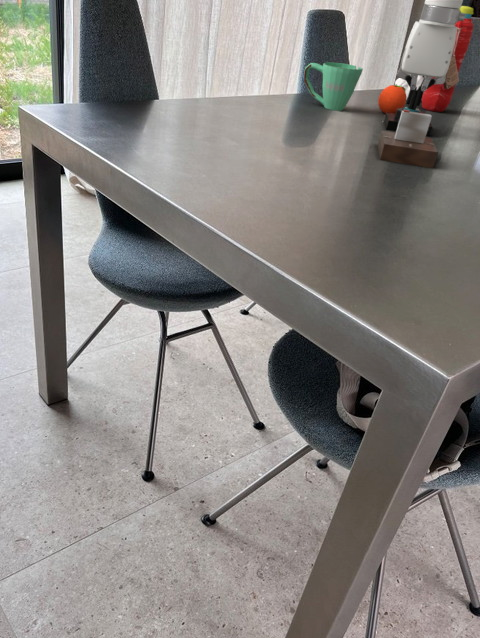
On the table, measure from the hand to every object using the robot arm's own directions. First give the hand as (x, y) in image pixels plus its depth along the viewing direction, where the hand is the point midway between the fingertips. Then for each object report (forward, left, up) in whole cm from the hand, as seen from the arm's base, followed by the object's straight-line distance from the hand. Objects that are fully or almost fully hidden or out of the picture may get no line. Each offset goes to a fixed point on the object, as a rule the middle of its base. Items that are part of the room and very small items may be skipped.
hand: (411, 108), depth 133 cm
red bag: (-10, -32, -5) cm, 34 cm away
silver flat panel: (+2, +28, -2) cm, 28 cm away
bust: (-5, -48, -5) cm, 48 cm away
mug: (+20, -13, -5) cm, 24 cm away
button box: (0, 0, -5) cm, 5 cm away
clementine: (+3, -17, -5) cm, 18 cm away
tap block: (+2, +28, -5) cm, 29 cm away
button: (0, 0, -2) cm, 2 cm away
